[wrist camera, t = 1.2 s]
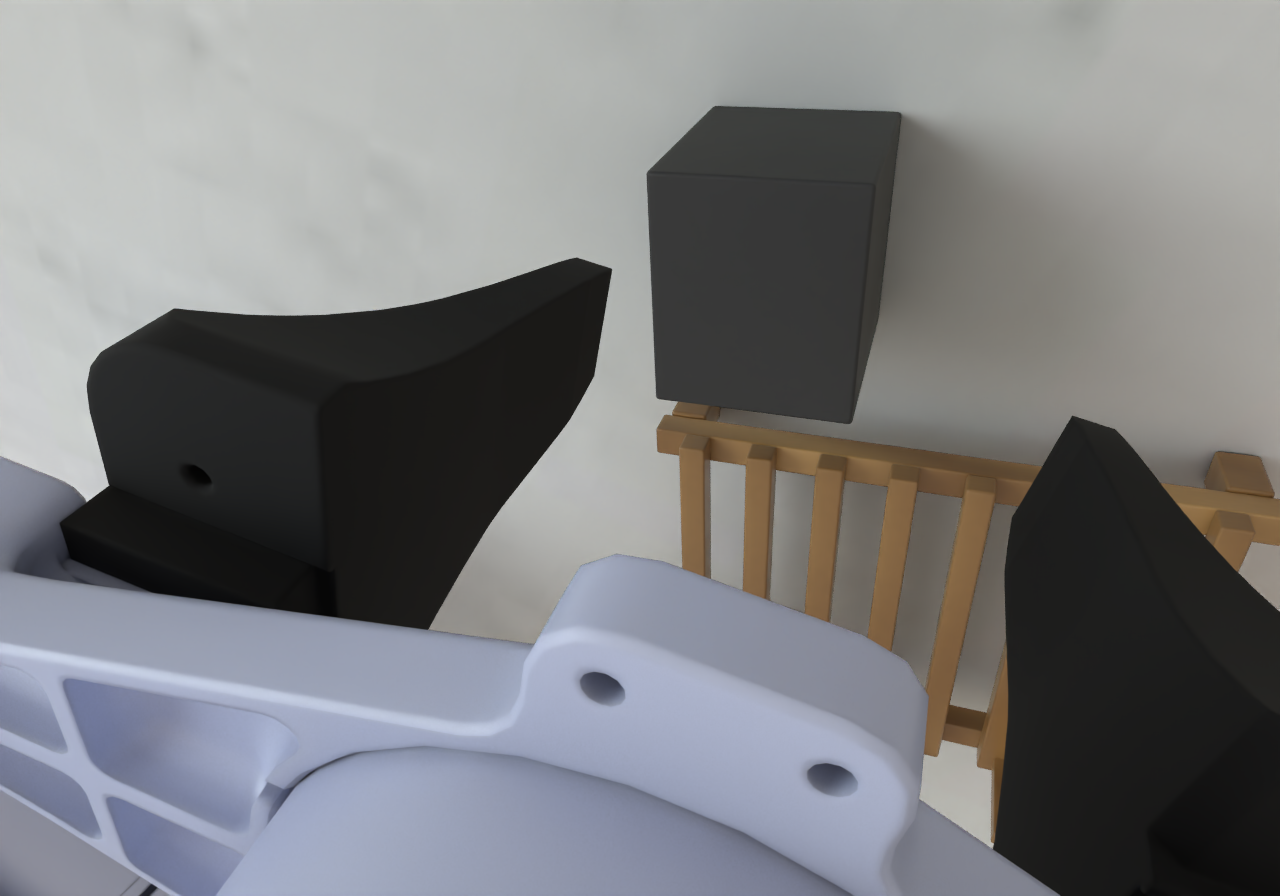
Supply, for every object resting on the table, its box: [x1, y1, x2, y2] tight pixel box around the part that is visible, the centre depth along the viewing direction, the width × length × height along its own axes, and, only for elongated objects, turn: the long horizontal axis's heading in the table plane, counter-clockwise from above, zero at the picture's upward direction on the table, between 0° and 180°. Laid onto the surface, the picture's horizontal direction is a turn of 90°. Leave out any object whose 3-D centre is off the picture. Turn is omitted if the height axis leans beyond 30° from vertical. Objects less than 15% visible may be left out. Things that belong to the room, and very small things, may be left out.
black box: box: [647, 106, 901, 424], centre depth 20 cm, size 4×5×5 cm
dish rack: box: [657, 402, 1280, 843], centre depth 25 cm, size 15×10×6 cm
